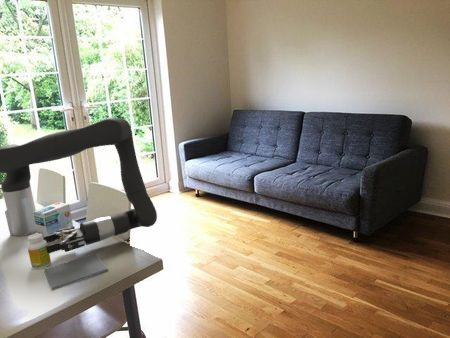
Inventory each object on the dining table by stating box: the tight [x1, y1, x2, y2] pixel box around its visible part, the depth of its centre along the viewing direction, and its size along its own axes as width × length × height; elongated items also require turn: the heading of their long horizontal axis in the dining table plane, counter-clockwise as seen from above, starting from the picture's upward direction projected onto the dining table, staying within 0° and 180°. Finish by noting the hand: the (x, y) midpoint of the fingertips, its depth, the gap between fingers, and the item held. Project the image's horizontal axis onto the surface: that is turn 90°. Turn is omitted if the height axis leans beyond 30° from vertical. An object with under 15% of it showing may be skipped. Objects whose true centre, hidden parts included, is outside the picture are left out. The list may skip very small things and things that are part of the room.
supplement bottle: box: [27, 232, 52, 270], centre depth 113 cm, size 5×5×10 cm
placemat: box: [43, 252, 109, 291], centre depth 109 cm, size 15×13×1 cm
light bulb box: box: [33, 201, 74, 237], centre depth 135 cm, size 11×7×11 cm, turn 148°
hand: (44, 245), depth 114 cm, fingers open, 8 cm apart
